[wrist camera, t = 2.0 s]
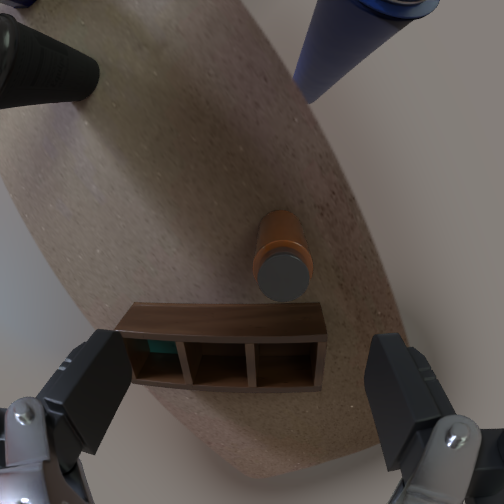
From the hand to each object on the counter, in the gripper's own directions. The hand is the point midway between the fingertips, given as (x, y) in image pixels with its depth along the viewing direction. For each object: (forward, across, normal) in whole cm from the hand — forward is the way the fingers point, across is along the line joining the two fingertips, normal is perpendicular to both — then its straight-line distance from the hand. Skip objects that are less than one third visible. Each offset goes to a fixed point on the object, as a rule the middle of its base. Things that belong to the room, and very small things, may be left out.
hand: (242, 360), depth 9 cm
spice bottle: (+20, -2, +2) cm, 20 cm away
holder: (+20, +4, +13) cm, 24 cm away
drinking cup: (+20, +18, -15) cm, 31 cm away
